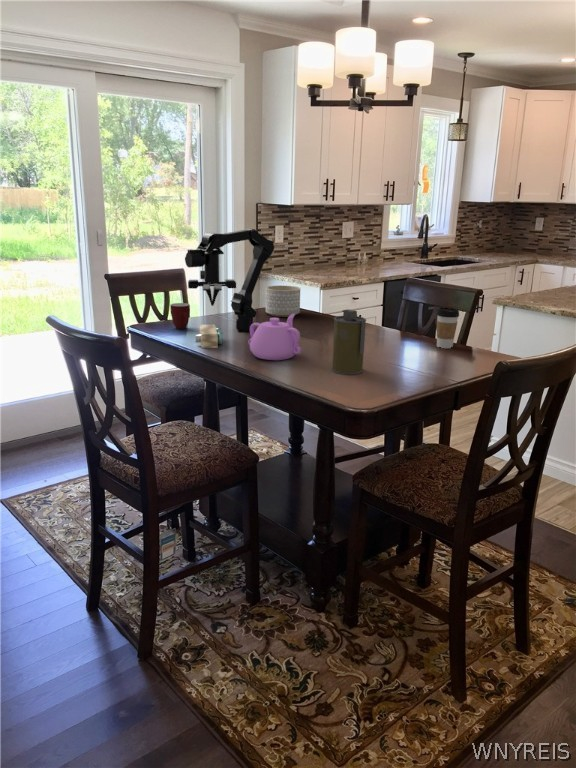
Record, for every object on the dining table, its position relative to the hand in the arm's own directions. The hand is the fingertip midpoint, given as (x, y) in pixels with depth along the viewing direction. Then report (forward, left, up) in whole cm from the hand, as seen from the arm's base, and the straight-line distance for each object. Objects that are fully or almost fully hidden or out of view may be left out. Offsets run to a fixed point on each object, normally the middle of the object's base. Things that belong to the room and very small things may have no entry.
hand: (212, 305), depth 241 cm
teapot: (-21, +34, -12) cm, 42 cm away
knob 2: (+2, +9, -11) cm, 15 cm away
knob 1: (+3, +17, -11) cm, 21 cm away
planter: (-36, -41, -12) cm, 56 cm away
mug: (+12, -13, -12) cm, 22 cm away
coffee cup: (-88, +28, -12) cm, 93 cm away
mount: (+3, +13, -12) cm, 18 cm away
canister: (-41, +56, -12) cm, 70 cm away
